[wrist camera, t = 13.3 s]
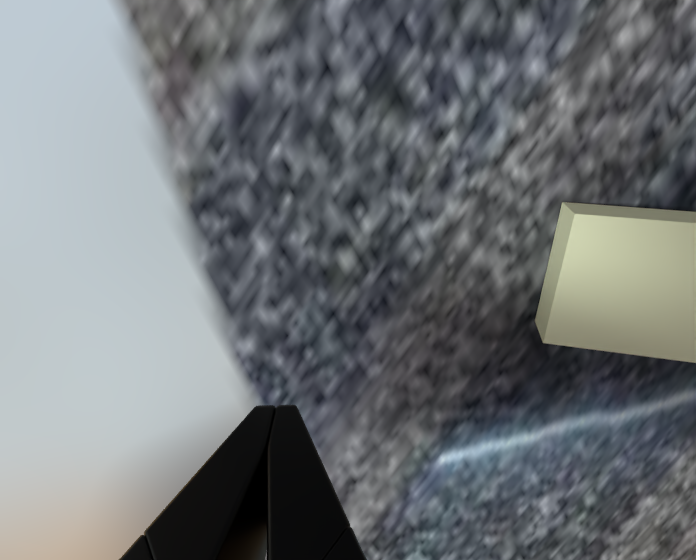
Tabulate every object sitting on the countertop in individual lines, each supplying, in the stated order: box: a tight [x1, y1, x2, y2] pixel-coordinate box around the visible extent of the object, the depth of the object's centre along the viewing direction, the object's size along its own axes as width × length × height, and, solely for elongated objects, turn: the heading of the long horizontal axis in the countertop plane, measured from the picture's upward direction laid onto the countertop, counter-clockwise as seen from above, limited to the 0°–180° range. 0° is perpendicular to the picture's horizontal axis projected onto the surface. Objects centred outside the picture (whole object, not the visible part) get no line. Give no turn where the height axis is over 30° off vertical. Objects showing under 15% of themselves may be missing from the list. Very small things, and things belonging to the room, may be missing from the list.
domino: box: [535, 202, 696, 363], centre depth 12 cm, size 4×1×8 cm
